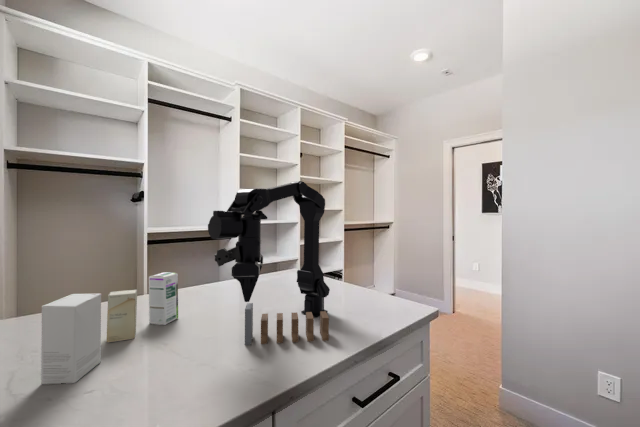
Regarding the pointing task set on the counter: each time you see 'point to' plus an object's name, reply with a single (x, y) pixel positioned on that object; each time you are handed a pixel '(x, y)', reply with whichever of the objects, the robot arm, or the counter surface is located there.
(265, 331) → the domino
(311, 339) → the domino
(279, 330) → the domino
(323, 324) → the domino
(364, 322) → the counter surface
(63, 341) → the skincare box
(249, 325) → the grey domino
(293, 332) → the domino
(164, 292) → the syrup box
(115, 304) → the skincare box
